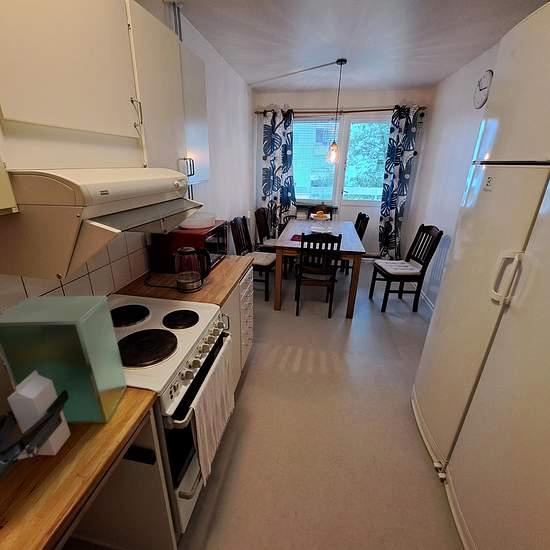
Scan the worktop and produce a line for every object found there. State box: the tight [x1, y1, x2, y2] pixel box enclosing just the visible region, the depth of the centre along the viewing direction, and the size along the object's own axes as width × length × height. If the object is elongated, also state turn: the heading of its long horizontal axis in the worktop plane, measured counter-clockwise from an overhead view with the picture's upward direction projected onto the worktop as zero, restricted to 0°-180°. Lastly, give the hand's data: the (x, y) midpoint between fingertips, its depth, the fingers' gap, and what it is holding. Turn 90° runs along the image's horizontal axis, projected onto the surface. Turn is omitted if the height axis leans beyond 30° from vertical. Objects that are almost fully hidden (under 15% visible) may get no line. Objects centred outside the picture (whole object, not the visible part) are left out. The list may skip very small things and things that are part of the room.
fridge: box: [0, 295, 128, 425], centre depth 82 cm, size 14×21×34 cm, turn 94°
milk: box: [7, 370, 72, 456], centre depth 71 cm, size 6×6×22 cm
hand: (52, 394), depth 75 cm, fingers closed on milk, 6 cm apart
